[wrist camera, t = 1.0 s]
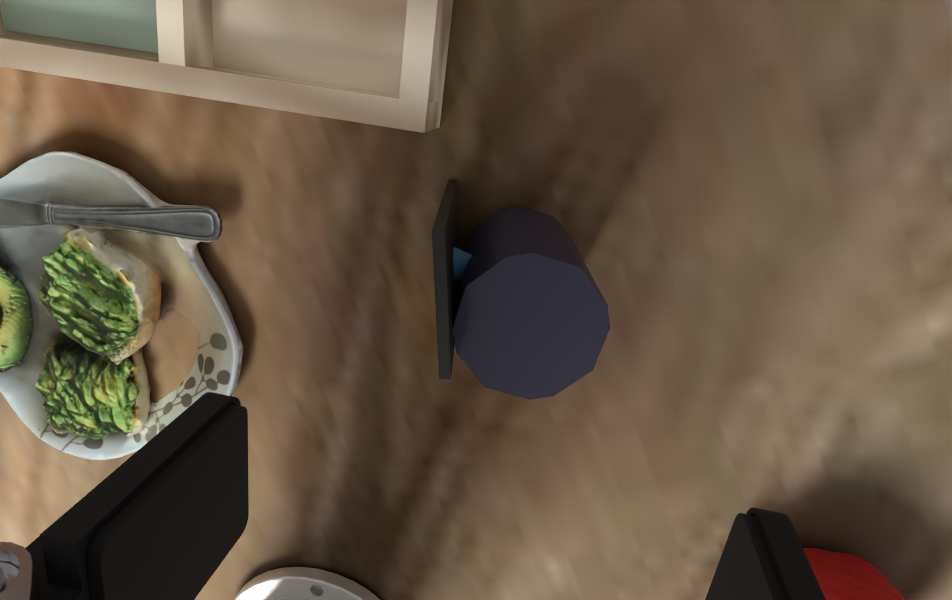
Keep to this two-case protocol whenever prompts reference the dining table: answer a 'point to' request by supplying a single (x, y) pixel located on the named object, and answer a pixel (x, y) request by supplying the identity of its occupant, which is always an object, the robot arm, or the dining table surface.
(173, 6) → the sorting tray
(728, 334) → the dining table surface
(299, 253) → the dining table surface
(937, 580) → the dining table surface
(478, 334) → the speaker
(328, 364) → the dining table surface
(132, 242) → the avocado toast plate
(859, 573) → the pomegranate
